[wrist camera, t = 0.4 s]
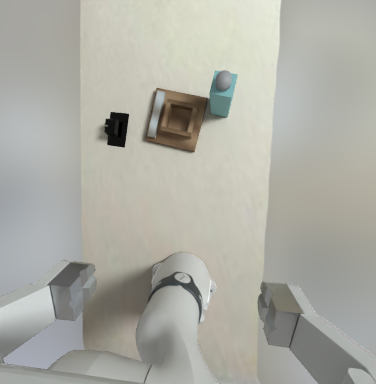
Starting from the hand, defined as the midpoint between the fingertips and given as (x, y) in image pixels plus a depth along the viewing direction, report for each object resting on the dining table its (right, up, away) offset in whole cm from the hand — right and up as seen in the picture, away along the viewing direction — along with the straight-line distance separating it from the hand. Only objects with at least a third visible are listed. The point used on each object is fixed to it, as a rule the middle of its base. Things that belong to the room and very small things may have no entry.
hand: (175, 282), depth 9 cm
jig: (-3, +24, +42) cm, 49 cm away
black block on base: (-19, +22, +46) cm, 55 cm away
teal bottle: (+9, +27, +41) cm, 50 cm away
